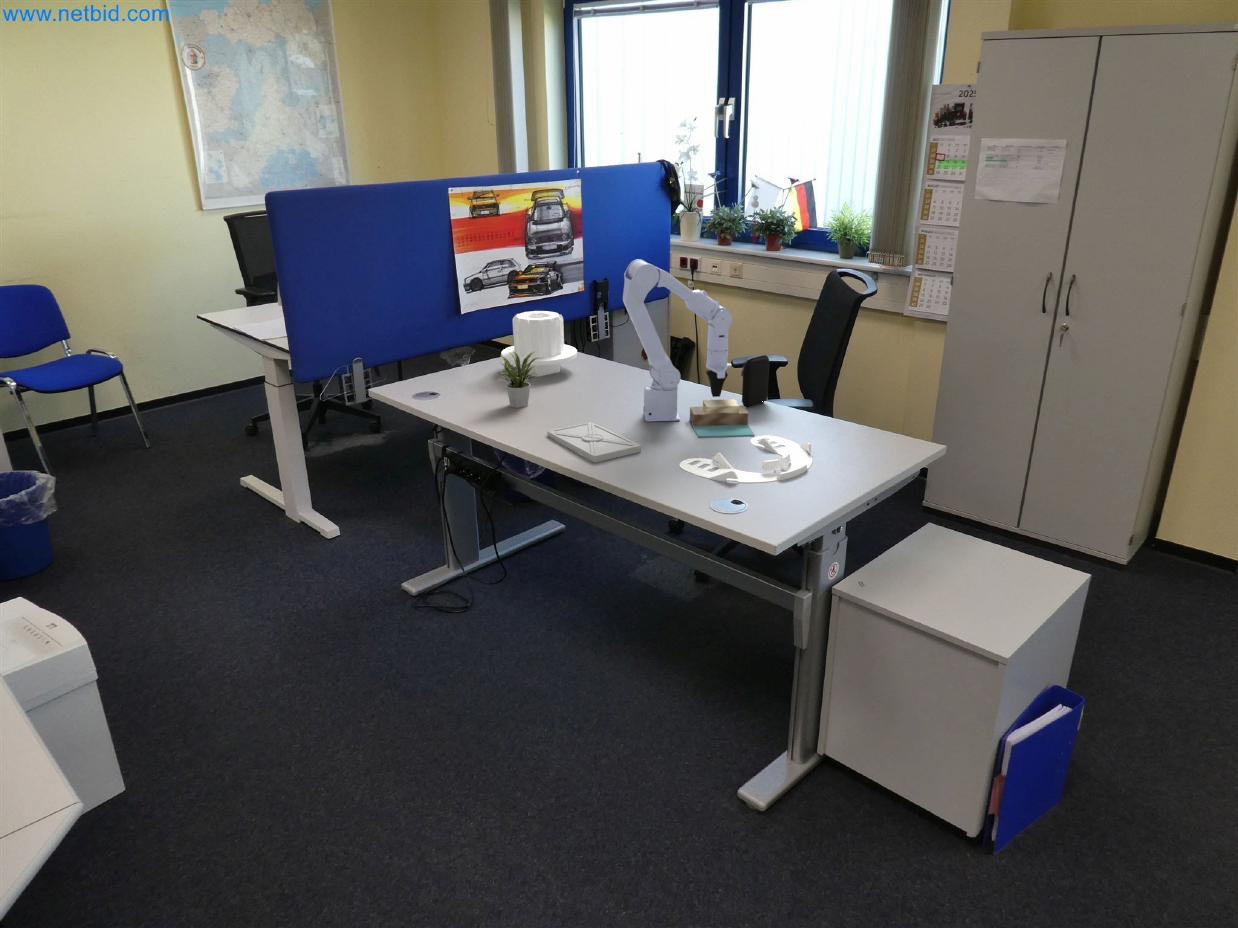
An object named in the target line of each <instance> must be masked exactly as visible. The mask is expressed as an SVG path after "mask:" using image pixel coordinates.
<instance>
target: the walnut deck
mask: <svg viewBox="0 0 1238 928" xmlns="http://www.w3.org/2000/svg"><path fill="white" fill-rule="evenodd" d="M689 420H690V422H691V425H692V427H693V428H694V426H717V425H749V412H748V410H747V409H746V407H744V405H743V404H742V405H739V413H718V414H706V412H705V410H704V408H703V405H702V406H689Z"/></svg>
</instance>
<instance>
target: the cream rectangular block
mask: <svg viewBox="0 0 1238 928" xmlns="http://www.w3.org/2000/svg"><path fill="white" fill-rule="evenodd" d="M702 406H703V408H704V410H705V412H706V414H718V413H739V406H740V405H739V403H738V401H737V400H736V399H733V398H732V399H729V398H728V399H702Z"/></svg>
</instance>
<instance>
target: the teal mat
mask: <svg viewBox="0 0 1238 928" xmlns="http://www.w3.org/2000/svg"><path fill="white" fill-rule="evenodd" d="M693 430H694V431H695V435H696V436H697V438H726V437H730V438H731V437H735V438H736V437H755V433H754V430H752V428H751V426H750V424H748V425H717V426H694V427H693Z"/></svg>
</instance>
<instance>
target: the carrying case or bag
mask: <svg viewBox="0 0 1238 928" xmlns="http://www.w3.org/2000/svg"><path fill="white" fill-rule="evenodd" d="M741 369H742V370H741V374H740V376H741V377H742V387H741V388H742V389H741V403H742V405H743V406H744V407H745V409H746V408H747V409H748V408H752V407H755V406H760V405H763V404H764V403H765V402H766V401H767V400H768V395H769V394H768V391H769V379H770V378H769V377H770V359H769V357H768V356H767V355H766V354H762V355H761V354H760V355H757V356H753V357H749V358H748V359H746V360H745V361H744V363H743V365H742V368H741ZM762 401H763V402H762ZM764 401H765V402H764Z"/></svg>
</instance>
